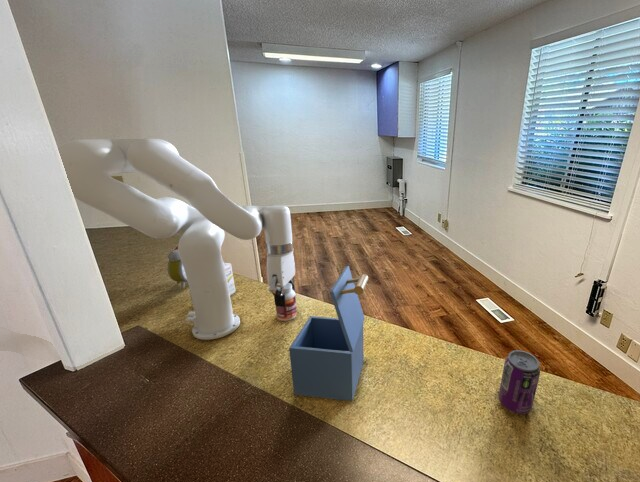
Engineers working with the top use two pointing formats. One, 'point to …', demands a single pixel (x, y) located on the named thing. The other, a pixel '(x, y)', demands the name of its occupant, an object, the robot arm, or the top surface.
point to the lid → (349, 305)
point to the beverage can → (519, 382)
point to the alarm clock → (176, 268)
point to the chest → (325, 360)
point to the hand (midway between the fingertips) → (285, 299)
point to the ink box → (229, 278)
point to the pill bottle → (287, 304)
